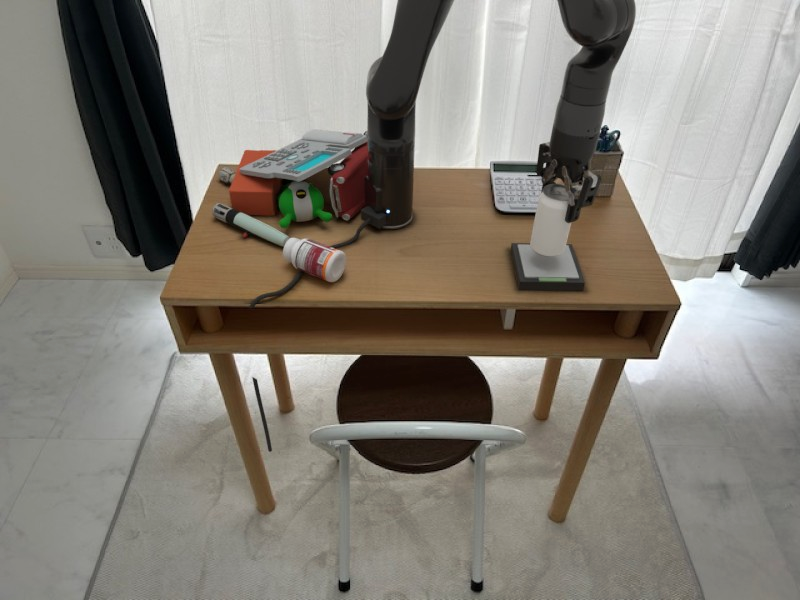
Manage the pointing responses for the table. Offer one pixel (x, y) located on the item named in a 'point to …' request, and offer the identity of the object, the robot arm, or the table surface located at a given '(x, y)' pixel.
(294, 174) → the office telephone
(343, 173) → the toy car
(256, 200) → the brick
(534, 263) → the scale
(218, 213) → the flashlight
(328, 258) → the pill bottle
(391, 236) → the table surface
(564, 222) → the can
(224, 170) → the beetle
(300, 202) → the toy
